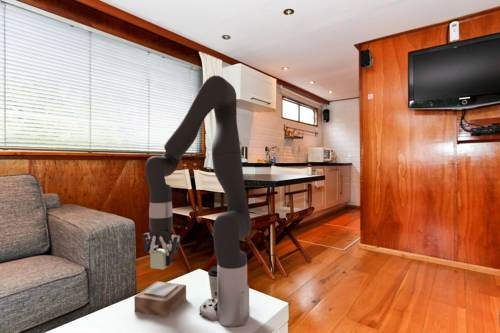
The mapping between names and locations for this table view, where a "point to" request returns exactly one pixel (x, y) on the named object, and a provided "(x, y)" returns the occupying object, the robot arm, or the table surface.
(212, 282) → the coffee cup
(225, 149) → the robot arm
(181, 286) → the walnut plinth
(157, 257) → the sage cube
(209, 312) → the game controller
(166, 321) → the table surface
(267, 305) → the table surface
